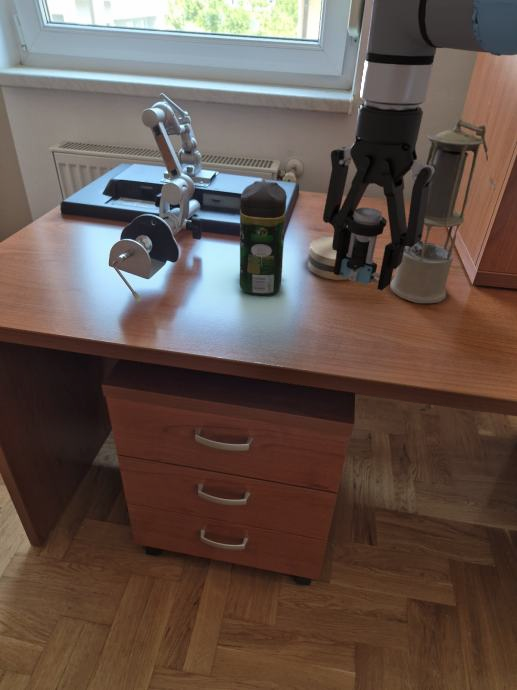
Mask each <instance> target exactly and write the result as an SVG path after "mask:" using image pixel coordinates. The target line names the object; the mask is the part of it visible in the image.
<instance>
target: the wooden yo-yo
mask: <svg viewBox="0 0 517 690" xmlns="http://www.w3.org/2000/svg"><path fill="white" fill-rule="evenodd" d="M332 244H333V236H323V237H318V238H316V239H314V240H313V241H311V243H310V245H309V249H308V255H307V259H308V263H307V267H308V269H309V270H310V272H311V273H313V274H314V275H316V276H318V277H320V278H323V279H326V280H327V279H328V280H334V281H349V278H346V277H343V276H341V275H340V274H339V275H335V274H334V268H335V260H336V253H337V251H336V250H333V247H332Z"/></svg>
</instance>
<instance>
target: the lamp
mask: <svg viewBox="0 0 517 690" xmlns="http://www.w3.org/2000/svg"><path fill="white" fill-rule="evenodd" d="M462 128H465V129H467V130H470V131H472V132H475V136H474V134H472V133H469V132H466V131H464V130H462ZM486 130H487V128H486V126H485V125H484V124H482V125H478V126H476V125H474V124H471V123H470V122H466V121H464V120H463V119H462V118H458V119H457V121H456V124H455V126H454V128H453V129H447V130H444V131H441V132H433V133H430V134H428V135H427V139H428V140H429V141H430V143H431V144H430V146H429V148H428V153H427V157H426V162H425V164H427V165H431V164H434V165H436V167H437V171H436V173H435V175H434V177H433V179H432V181H431V183H430V186H429V193H428V200H427V206H426V213H425V220H424V226H426V234H425V238H424V241H423V240H422V239H421V240H420V241H419V242H418V243H416V244H415V245H414V246H412V247H409V246H405V249H404V253H403V258H402V262H401V264H400V266H398V267H397V268H396V269H395V273H394V277H393V278H392V279H391V283H390V284H389V285H390V286H389V288H390V290H391V292H393V293H394V294H395V295H396V296H397V297H399V298H401V299H403V300H407V301H410V302H413V303H416V304H435V303H436V304H437V303H441V302H443V300H445V299H446V298H447V291H446V286H447V281H448V278H449V274H450V270H451V266H452V263H453V259H454V254H453V250H454V247H455V243H456V239H457V232H458V230H459V227H460V226H461V225H462V224H463V223H464V222H465V218H464V216H465V208H466V206H467V203H468V198H469V192H470V188H471V183H472V180H473V175H474V172H475V168H476V162H477V159H478V154H479V149H480V146H481V144H482V147H483V149H484V154H485V158H486V161H487V162H488V161H489V157H488V156H489V155H488V153H487V152H488V146H487V141H486V134H487V133H486V132H487V131H486ZM477 136H478V137H477ZM468 152H472V153H473V157H472V161H471V167H470V172H469V175H468V181H467V184H466V190H465V193H464V198H463V204H462V208H461V212H460V213H458V212H457V211H455V206H456V202H457V198H458V195H459V191H460V186H461V183H462V179H463V175H464V171H465V167H466V161H467V158H468V156H469V153H468ZM490 172H492V170H490ZM489 182H490V184H491V186H492V189H493V190H494V191H495V190H496V185H495V183H494V181H493V179H492V177H491V175H489ZM424 226H423V228H424ZM407 227H408V225H407ZM433 227H439V228H448V232H447V236H446V239H445V242H444V244H443V246H441V245H438V244H436V243H430V242H428V239H429V235H430V232H431V229H432V228H433ZM453 227H456V228H455V231H454V235H453V237H452V240H451V243H450V246H449V247H448V245H449V242H450V239H451V235H452V231H453Z"/></svg>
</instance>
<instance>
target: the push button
mask: <svg viewBox="0 0 517 690" xmlns="http://www.w3.org/2000/svg"><path fill="white" fill-rule="evenodd" d="M347 222H348V225H347V228H348V229H349V230H350V231H351V232H352V233H351V239H350V245H349V251H348V253H347V254H346V256H347V257H346V258H344V259H343V260H342V263H341V269H340V275H341V276H343V277H346V278H349V279H348V281H351V282H357V283H360V284H362V285H369V284H370V283H376V284H378V282H379V279H377V278H379V277H380V273H377V269H378V264H377V263H376V262H375V260H374V253H375V249H376V243H377V239H378V236H379V235H382V234H383V233H384V228H385V227H386V226H387V222H388V221H387V218H385V217H383V216H382V212H381V211H380V210H378V209H376V208H372V207H357V208H356V210H355V212H354V213H352V214H350V215H348V217H347ZM375 277H376V278H375Z"/></svg>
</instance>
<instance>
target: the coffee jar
mask: <svg viewBox="0 0 517 690" xmlns="http://www.w3.org/2000/svg"><path fill="white" fill-rule="evenodd" d="M287 198H288V195H287V191H286V190H285V189H284V187H282V186H281V185H280V184H278V182H273V181H261V180H260V181H258V180H256V181H254V182H253V183H251V184H249V185H247V186H246V187H245V188H244V189H243V191H242V193H241V194H240V207H239V287H240V289H241V290H242V291H243V292H245V293H248V294H251V295H255V296H266V295H267V296H268V295H273V294H276V293H277V292H278V291H279V290H280V288H281V286H282V277H283V258H284V245H285V229H286V215H287V214H286V213H287V200H288V199H287Z"/></svg>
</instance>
